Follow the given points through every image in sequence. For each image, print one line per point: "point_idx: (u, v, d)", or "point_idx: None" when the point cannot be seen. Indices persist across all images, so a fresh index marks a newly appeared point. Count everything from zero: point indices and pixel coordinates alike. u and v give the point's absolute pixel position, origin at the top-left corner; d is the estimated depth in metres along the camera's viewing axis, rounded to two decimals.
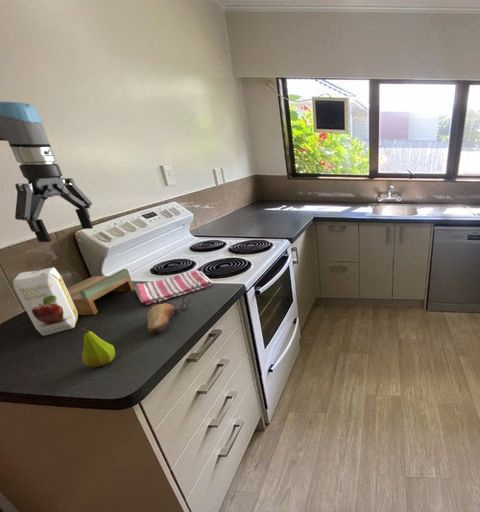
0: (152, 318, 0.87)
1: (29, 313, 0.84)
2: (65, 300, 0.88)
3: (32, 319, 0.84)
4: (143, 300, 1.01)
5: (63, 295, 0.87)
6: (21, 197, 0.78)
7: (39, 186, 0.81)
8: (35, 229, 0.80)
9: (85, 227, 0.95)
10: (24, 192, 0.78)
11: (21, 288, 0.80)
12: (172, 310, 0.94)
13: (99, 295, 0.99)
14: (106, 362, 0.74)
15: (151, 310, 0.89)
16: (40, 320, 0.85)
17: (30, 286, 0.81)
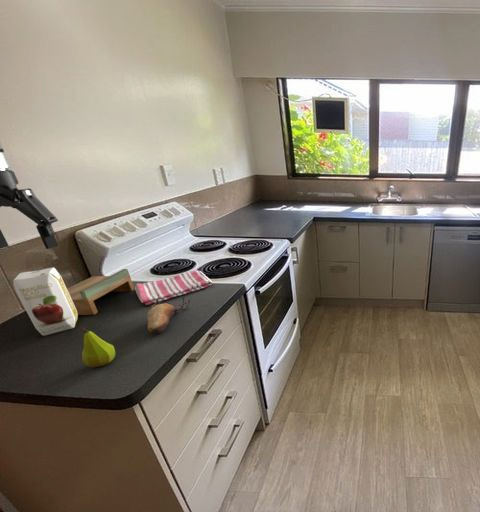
0: (152, 318, 0.87)
1: (29, 313, 0.84)
2: (65, 300, 0.88)
3: (32, 319, 0.84)
4: (143, 300, 1.01)
5: (63, 295, 0.87)
6: (35, 202, 0.77)
7: None
8: (53, 233, 0.81)
9: (1, 246, 0.81)
10: (33, 197, 0.77)
11: (21, 288, 0.80)
12: (172, 310, 0.94)
13: (99, 295, 0.99)
14: (106, 362, 0.74)
15: (151, 310, 0.89)
16: (40, 320, 0.85)
17: (30, 286, 0.81)
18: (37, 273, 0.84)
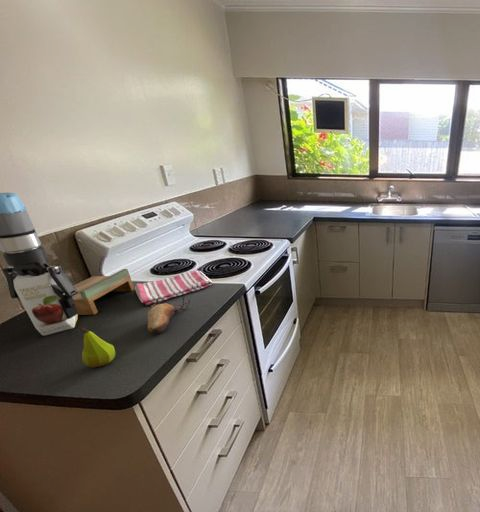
0: (152, 318, 0.87)
1: (29, 313, 0.84)
2: None
3: (32, 319, 0.84)
4: (143, 300, 1.01)
5: None
6: (62, 278, 0.85)
7: None
8: (74, 303, 0.88)
9: None
10: (61, 272, 0.85)
11: (21, 288, 0.80)
12: (172, 310, 0.94)
13: (99, 295, 0.99)
14: (106, 362, 0.74)
15: (151, 310, 0.89)
16: (40, 320, 0.85)
17: (30, 286, 0.81)
18: None
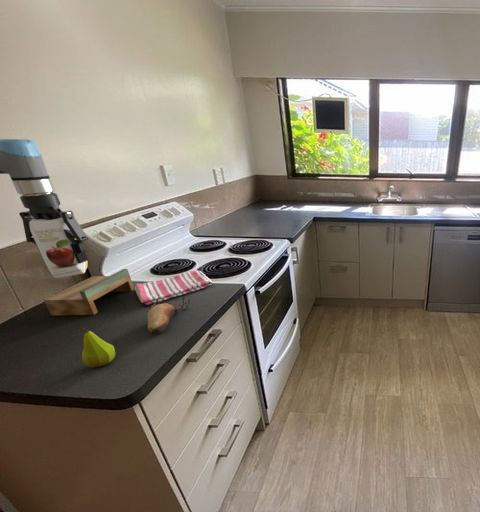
0: (152, 319, 0.87)
1: (44, 255, 0.90)
2: None
3: (46, 261, 0.90)
4: (143, 300, 1.01)
5: None
6: (73, 223, 0.91)
7: None
8: (84, 249, 0.94)
9: None
10: (72, 218, 0.91)
11: (36, 230, 0.86)
12: (172, 310, 0.94)
13: (99, 295, 0.99)
14: (106, 362, 0.74)
15: (151, 310, 0.89)
16: (53, 262, 0.91)
17: (45, 229, 0.87)
18: None
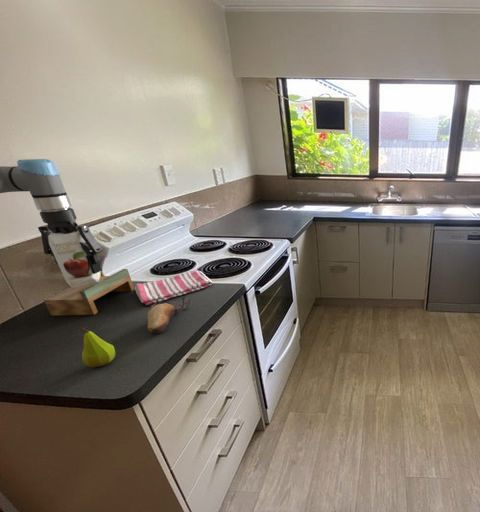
0: (152, 318, 0.87)
1: (61, 267, 0.95)
2: None
3: (63, 272, 0.96)
4: (143, 300, 1.01)
5: None
6: (89, 236, 0.96)
7: None
8: (99, 260, 1.00)
9: None
10: (88, 231, 0.96)
11: (55, 244, 0.92)
12: (172, 310, 0.94)
13: (99, 295, 0.99)
14: (106, 362, 0.74)
15: (151, 310, 0.89)
16: (70, 273, 0.96)
17: (62, 242, 0.93)
18: None
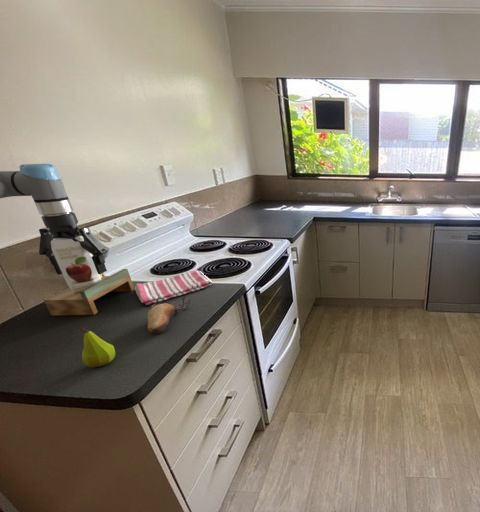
0: (152, 318, 0.87)
1: (63, 272, 0.96)
2: (93, 262, 1.00)
3: (65, 277, 0.97)
4: (143, 300, 1.01)
5: (91, 257, 1.00)
6: (91, 237, 0.97)
7: None
8: (104, 261, 1.00)
9: None
10: (90, 233, 0.97)
11: (57, 249, 0.93)
12: (172, 310, 0.94)
13: (99, 295, 0.99)
14: (106, 362, 0.74)
15: (151, 310, 0.89)
16: (72, 278, 0.97)
17: (65, 247, 0.94)
18: None
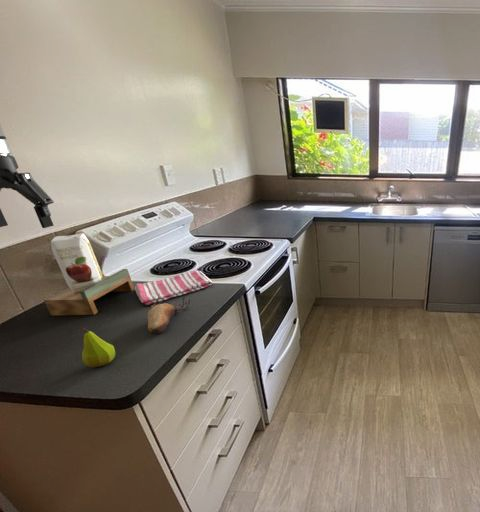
0: (152, 319, 0.87)
1: (63, 272, 0.96)
2: (93, 262, 1.00)
3: (65, 277, 0.97)
4: (143, 300, 1.01)
5: (91, 257, 1.00)
6: (33, 185, 0.86)
7: None
8: (49, 213, 0.89)
9: (1, 225, 0.89)
10: (31, 180, 0.86)
11: (57, 249, 0.93)
12: (172, 310, 0.94)
13: (99, 295, 0.99)
14: (106, 362, 0.74)
15: (151, 310, 0.89)
16: (72, 278, 0.97)
17: (65, 247, 0.94)
18: (70, 237, 0.96)
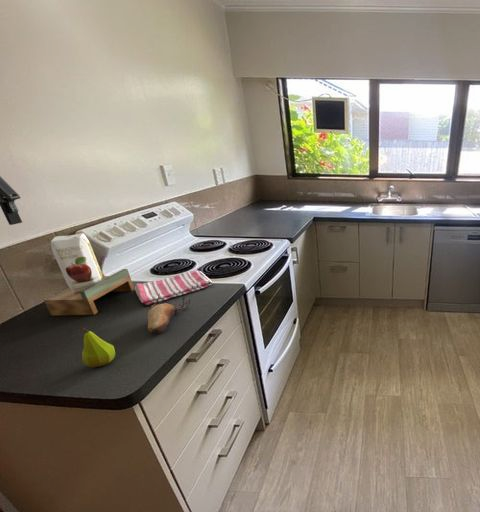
0: (152, 318, 0.87)
1: (63, 272, 0.96)
2: (93, 262, 1.00)
3: (65, 277, 0.97)
4: (143, 300, 1.01)
5: (91, 257, 1.00)
6: None
7: None
8: (16, 209, 0.85)
9: None
10: None
11: (57, 249, 0.93)
12: (172, 310, 0.94)
13: (99, 295, 0.99)
14: (106, 362, 0.74)
15: (151, 310, 0.89)
16: (72, 278, 0.97)
17: (65, 247, 0.94)
18: (70, 237, 0.96)
